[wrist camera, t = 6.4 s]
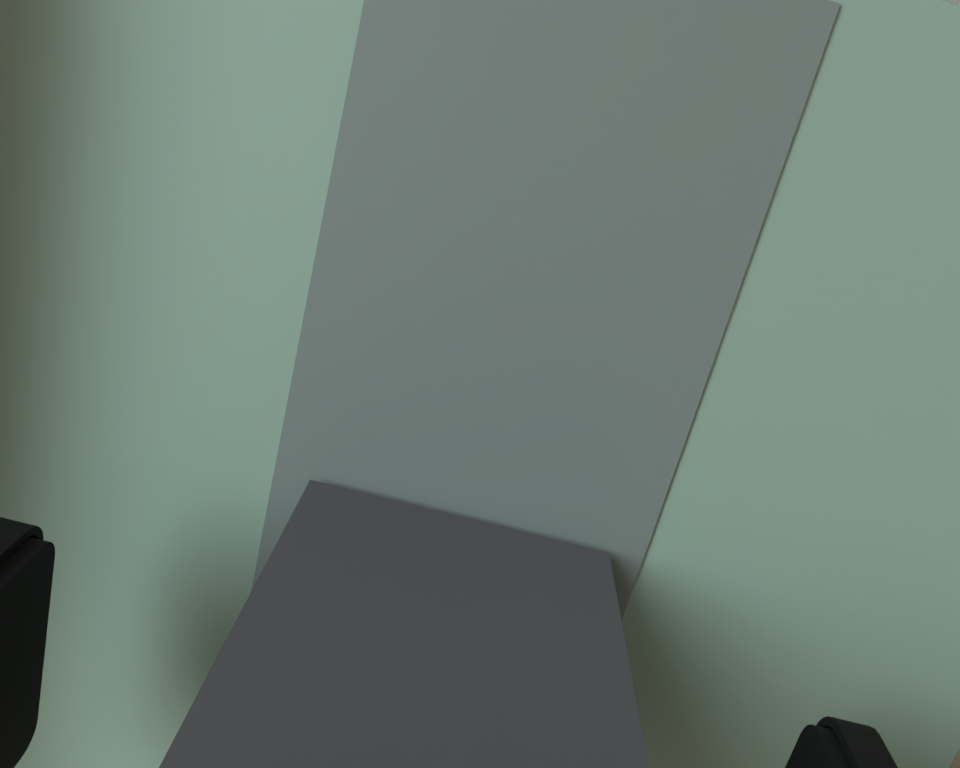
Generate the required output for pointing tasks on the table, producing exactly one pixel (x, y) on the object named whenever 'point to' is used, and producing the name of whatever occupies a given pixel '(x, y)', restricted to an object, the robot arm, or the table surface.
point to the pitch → (495, 333)
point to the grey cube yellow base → (417, 650)
